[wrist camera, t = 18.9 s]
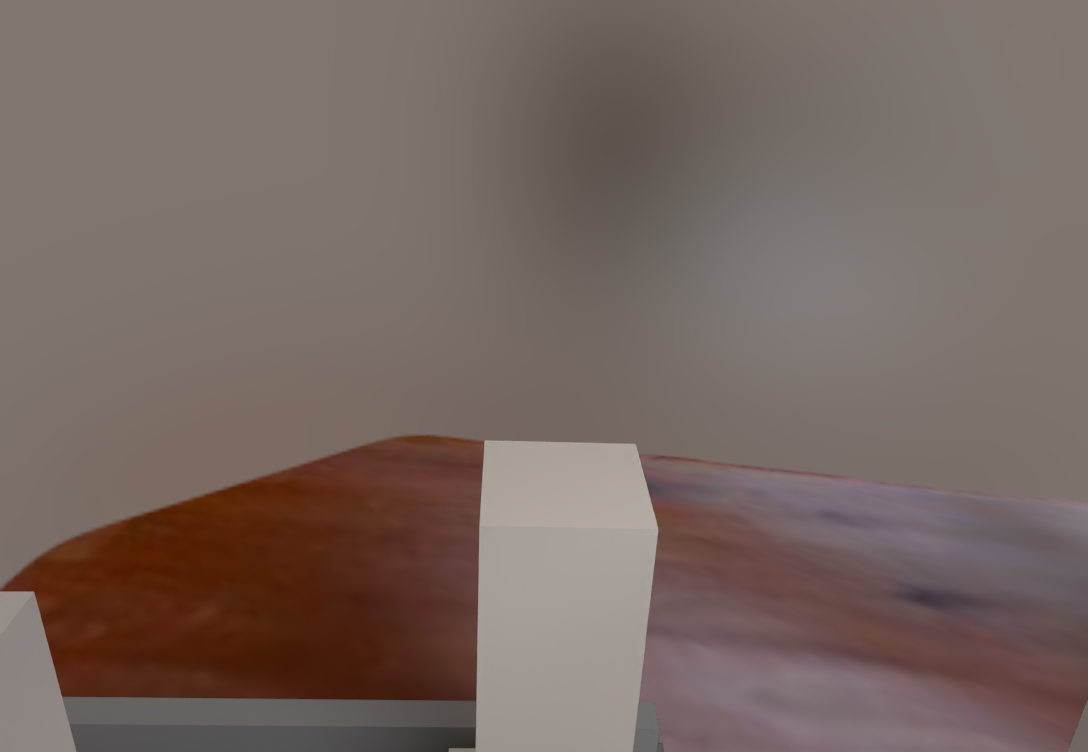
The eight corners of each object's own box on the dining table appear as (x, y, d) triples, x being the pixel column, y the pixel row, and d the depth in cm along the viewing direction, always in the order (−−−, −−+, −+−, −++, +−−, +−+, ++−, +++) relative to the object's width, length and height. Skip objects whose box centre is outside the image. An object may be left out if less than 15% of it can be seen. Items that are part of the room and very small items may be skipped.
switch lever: (626, 780, 30) (667, 427, 24) (652, 959, 24) (711, 556, 19) (448, 779, 30) (449, 422, 24) (434, 960, 24) (430, 551, 19)
